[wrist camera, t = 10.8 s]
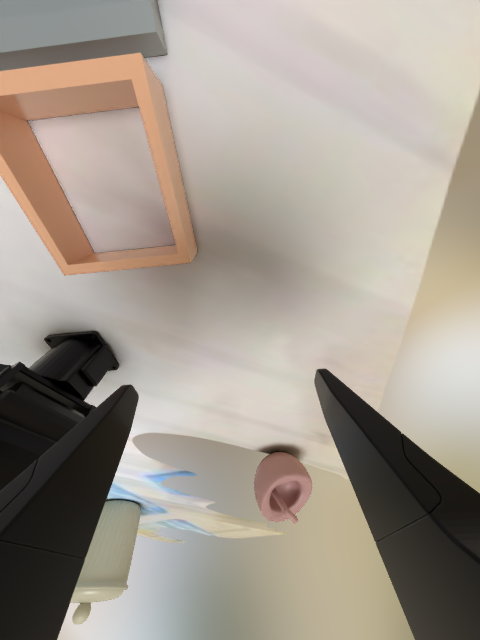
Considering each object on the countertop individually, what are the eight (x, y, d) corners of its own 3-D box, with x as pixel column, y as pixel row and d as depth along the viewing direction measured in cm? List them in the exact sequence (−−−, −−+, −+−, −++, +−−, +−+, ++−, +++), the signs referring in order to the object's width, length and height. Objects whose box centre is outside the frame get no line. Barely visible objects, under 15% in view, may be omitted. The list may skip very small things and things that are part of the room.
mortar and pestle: (314, 450, 44) (336, 521, 34) (278, 467, 49) (289, 533, 40) (275, 437, 40) (288, 513, 30) (241, 457, 45) (244, 528, 35)
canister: (80, 496, 58) (13, 629, 40) (139, 493, 58) (98, 625, 40) (105, 512, 68) (61, 623, 50) (156, 509, 68) (129, 620, 50)
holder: (90, 262, 19) (64, 275, 16) (6, 105, 13) (-61, 79, 10) (197, 251, 18) (190, 262, 15) (162, 85, 12) (140, 52, 9)
